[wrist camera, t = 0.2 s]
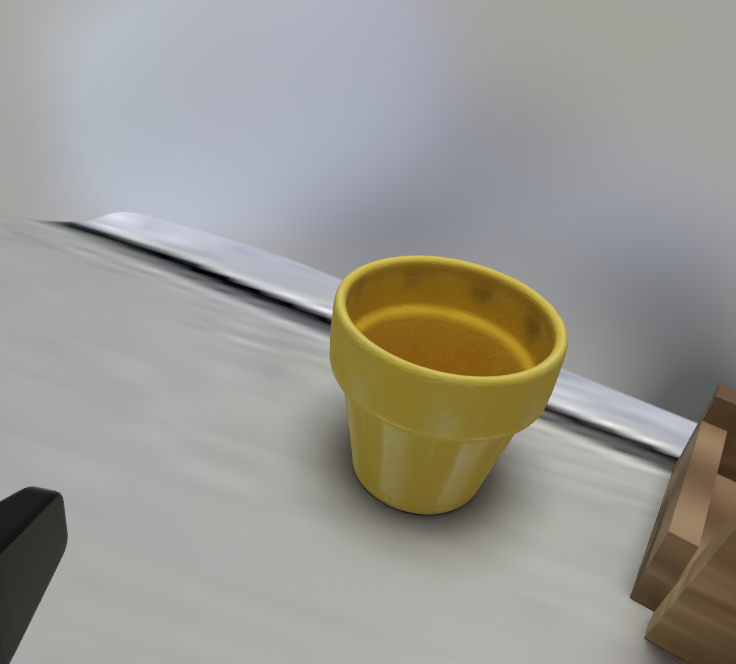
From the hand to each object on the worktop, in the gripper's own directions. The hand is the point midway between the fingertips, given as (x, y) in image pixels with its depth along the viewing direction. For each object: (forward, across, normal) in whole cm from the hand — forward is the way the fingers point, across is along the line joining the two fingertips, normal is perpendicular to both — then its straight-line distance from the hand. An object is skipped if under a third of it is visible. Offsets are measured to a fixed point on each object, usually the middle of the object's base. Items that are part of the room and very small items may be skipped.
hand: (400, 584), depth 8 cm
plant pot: (+21, -2, +16) cm, 26 cm away
